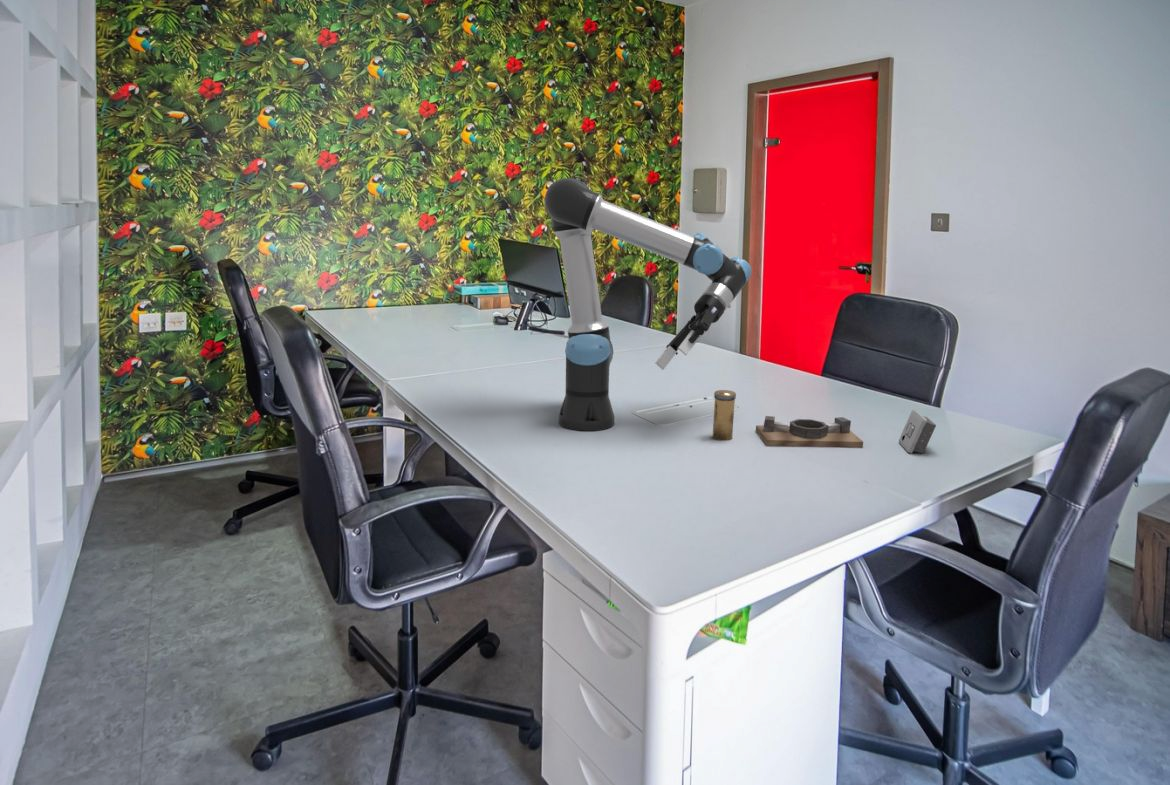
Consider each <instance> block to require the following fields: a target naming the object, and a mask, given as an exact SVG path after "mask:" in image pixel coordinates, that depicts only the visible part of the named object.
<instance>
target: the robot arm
mask: <svg viewBox="0 0 1170 785" xmlns="http://www.w3.org/2000/svg"><path fill="white" fill-rule="evenodd" d="M544 207H545V210H546V212H547V214H548V215H549V217H550V220H551V226H552V232H553V234H554V235H555V236H557V237H558V238H559V243H560V250H561V256H562V263H563V270H564V277H565V285H566V291H567V298H568V306H569V312H570V318H571V325H570V327H569V328H568V329H567V336H568V339H567V342H566V345H565V350H564V351H565V352H564V353H565V396H564V398H563V402H562V404H561V407H560V410H559V413H558V424H559V425H560V426H561V427H562V428H563V427H564V428H565V429H569V430H574V431H588V432H589V431H600V430H601V431H602V430H606V429H610V428H612V427H613V426H614V425H615V413H614V410H613V407H612V403H611V399H610V392H609V390H610V365H611V363H612V360H613V359H614V358H613V357H614V346H613V343H612V341H611V336H610V327H609V324H608V323H607V322H605V321H604V320H603V316H602V315H603V314H602V308H601V301H600V294H599V287H598V286H599V285H598V279H597V272H596V265H595V258H594V248H593V243H592V232H593V231H594V230H596V231H598V232H600V233H604V234H605V235H608V236H611V237H613V238H615V239H618V240H620V241H623V242H625V243H627V244H630V245H632V246H636V247H637V248H640V249H643V250H646V251H648V252H651V253H653V254H655V255H658V256H660V257H663V258H666V259H668V260H670V261H673V262H676V263H678V264H681V265H683V266H685V267H688V268H690V269H693V270H695V271H697V272H698V273H699V274H701V275H705V276H706V277H707V278H708V279H709V280H710V281H711V283H709V285H708V286H707V287H706V288H705V290H704V292H702V294H701V296H700V297H699V298H698V299H697V301H696V302H695V303H694V305H693V308H694V312H695V314H694V315H692V316H691V318H690V320H688V321H687V323H686V324H685V325H684V327H683V328H682V329H681V330H680V331H679V332H678V333H677V334H676V335H675V336H674V338H673V339H672V340H671V341H670V342H669V343H668V344H667V345H666V348H665V350H664V351H663V353H661V355H660V357H659V358H658V359H657V360H656V361H655V362H654V363H655V364H656V365H657V367H659V369H661V370H662V371H664V370H665V368H666V367H667V366H668V364H670V362H671V361H672V359H673V358H674V357H675V355H676V356H677V355H679V353H678V351H680V352H681V353H682V354H683V355H684V356H688V354H689V353H690V351H692V349H693V348H694V346H695V345H696V343H697V342H698V341H699V340H700V338H701V336H703V335H704V334H705V333H706V332H708V331H709V329H710V327H711V325H712V324H714V323H717V322H718V321H719V320H720V319H721V317H722V316H723V315H724V313H725V311H726V310H727V309H731V307H732V302H733V301H734V300H735V298H736V297H737V296H738V295H739V293H740V292H741V291H742V290H743V288H744V287H745V286H746V284H747V283H748V281H749V279H750V278H751V276H752V268H751V265H750V264H749V262H748V261H747V260H746V259H742V258H741V257H738V256H734V257H731V258H730V257H728V256H726V254H725V253H723V250H722V249H721V248H720V247H719V246H718V245H716V244H714V243H713V242H712V241H711V240H710V239H709V238H708V237H707V236H705V235H704V234H703V233H702V232H697V233H695V234H694V235H691V234H688V233H685V232H683V231H681V230H678V229H676V228H673V227H670V226H668V225H666V224H663V223H660V222H658V221H656V220H653V219H652V218H648V217H646V216H644V215H641V214H639V213H636V212H634V211H631V210H629V209H626V208H623V207H622V206H619V205H616V204H614V203H612V202H609V201H606V200H604V199H603V197H602V195H601V194H600V193H598V192H594V191H593V190H591V189H590V188H589V186H588V185H587V184H586V183H585V182H583V181H582V180H579V179H577V178H576V179H575V178H569V177H565V178H559V179H557V180H555V181H553V183H552V182H551V185H550V186H548V188H547V189H546V192H545V194H544Z"/></svg>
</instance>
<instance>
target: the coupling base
mask: <svg viewBox="0 0 1170 785" xmlns="http://www.w3.org/2000/svg"><path fill="white" fill-rule="evenodd" d="M764 417H765V418H764V421H763V425H759V424H758V425H755V432H756V433H757V435H758V436H759V437H760V438H761V440H762V442H763V443H764V444H765V446H766V447H801V448H802V447H803V448H804V447H805V448H807V447H809V448H811V447H815V448H816V447H817V448H861V449H862V448H863V447H864V440H862V439H861V438H860V437H858V436H857V435H856V434H855V433H854V431H852V430H851V422H852V420H850V419H847V418H845V417H843V416H841V417H834V422H833V423H831V422H829V423H825V422H824V421H820V420H816V419H809V418H808V419H807V418H806V419H803V418H797V419H794V420H792V421H790V422H789V423H788V422H779V421H778V422H777V421H776V420H775V418H776V417H775V416H774V415H773V416H771V415H765V416H764ZM788 424H789V425H788Z"/></svg>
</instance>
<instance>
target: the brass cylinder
mask: <svg viewBox="0 0 1170 785" xmlns="http://www.w3.org/2000/svg"><path fill="white" fill-rule="evenodd" d="M713 395H714V396H713V398H714V404H713V406H714V408H713V409H714V410H713V424H712V438H713V440H718V441H730V440H732V439H733V432H734V419H735V418H734V415H735V400H736V399H737V398H736V397H737V393H736V392H735V391H732V390H728V389H727V390H726V389H720V390H719V389H718V390H716V391H714V393H713Z"/></svg>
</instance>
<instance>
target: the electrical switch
mask: <svg viewBox="0 0 1170 785" xmlns="http://www.w3.org/2000/svg"><path fill="white" fill-rule="evenodd" d="M936 427H937V425H936V424H935V423H934V422H933V421H932V420H931V419H930V418H929V417H928V416H924V415H923V414H921V413H920V412H919V411H918V410H916V409H912V410H911V412H910V414H909V416H908V419H907V421H906V423H905V425H904V428H903V429H902V432H901V434H900V437H899V439H898V443H899V445H900V446H901V447H902V448H903V449H904V450H905V451H906V452H907V453H909V454H913V452H915V453H920V454H924V452H925V451H926V449H927V447H928V444H929V442H930V440H931V438H932V435H933V434H934V431H935V430H936V429H935V428H936Z"/></svg>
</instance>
